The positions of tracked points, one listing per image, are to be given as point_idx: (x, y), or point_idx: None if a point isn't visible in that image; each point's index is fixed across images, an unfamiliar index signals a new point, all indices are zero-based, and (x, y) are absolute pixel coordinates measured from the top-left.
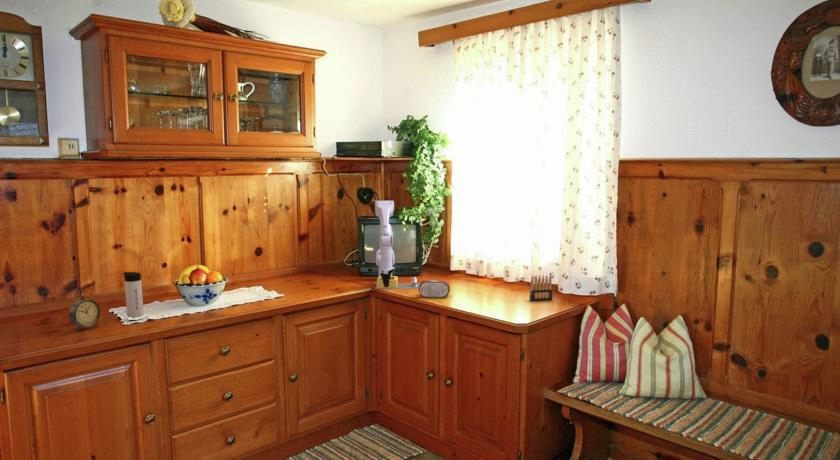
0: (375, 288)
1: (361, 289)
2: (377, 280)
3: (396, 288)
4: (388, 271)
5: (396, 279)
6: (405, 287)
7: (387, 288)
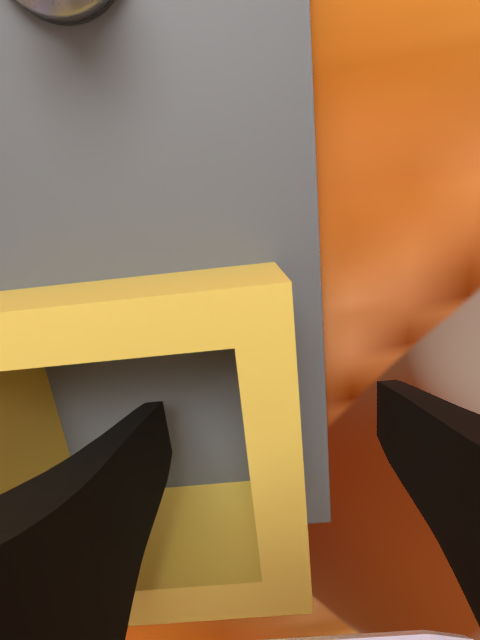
0: (315, 516)
1: (271, 618)
2: (310, 602)
3: (301, 258)
4: (57, 635)
5: (200, 296)
6: (219, 114)
7: (308, 383)
